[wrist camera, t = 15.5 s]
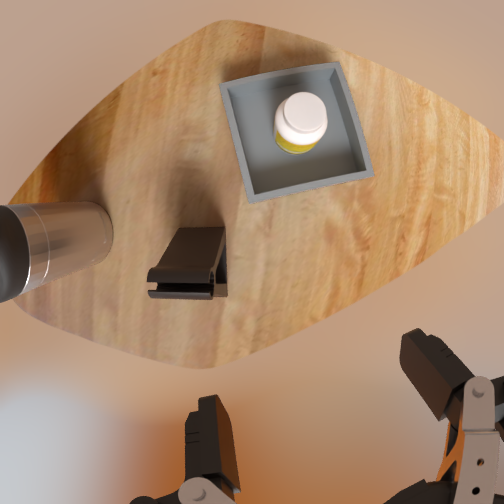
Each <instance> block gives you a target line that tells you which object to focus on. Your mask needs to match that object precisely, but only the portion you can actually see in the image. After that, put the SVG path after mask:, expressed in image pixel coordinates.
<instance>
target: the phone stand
mask: <svg viewBox="0 0 504 504" xmlns="http://www.w3.org/2000/svg"><path fill="white" fill-rule="evenodd" d="M147 282H157V284H158V286H157V289H156V290H148V294H149V296H150V297H151V298H160V299H193V300H212V299H213V297H227V296H228V293H227V264H226V228H225V227H207V228H179V229H178V230H177V232H176V234H175V235H174V237H173V239H172V241H171V242H170V244H169V246H168V247H167V249H166V251H165V252H164V254H163V256H162V258H161V259H160V261H159V263H158V264H157V266H156V267H153V268H151V269H150V270H149V272H148V276H147Z"/></svg>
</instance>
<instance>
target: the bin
mask: <svg viewBox="0 0 504 504" xmlns="http://www.w3.org/2000/svg"><path fill="white" fill-rule="evenodd" d="M219 87H220V91H221V95H222V99H223V103H224V107H225V110H226V114H227V118H228V122H229V126H230V130H231V134H232V138H233V142H234V146H235V150H236V154H237V158H238V162H239V166H240V170H241V173H242V177H243V181H244V185H245V189H246V193H247V197H248V201H249V204H253V203H257V202H261V201H265V200H269V199H274V198H278V197H282V196H286V195H291V194H295V193H299V192H304V191H308V190H313V189H317V188H322V187H327V186H331V185H336V184H341V183H346V182H350V181H355V180H360V179H365V178H369V177H373V176H374V172H373V167H372V163H371V160H370V156H369V152H368V148H367V144H366V141H365V137H364V134H363V130H362V127H361V124H360V120H359V117H358V114H357V111H356V108H355V105H354V102H353V99H352V96H351V93H350V90H349V87H348V84H347V81H346V78H345V76H344V73H343V70H342V68H341V65H340V62H331V63H322V64H315V65H308V66H301V67H295V68H289V69H283V70H278V71H272V72H267V73H262V74H258V75H253V76H249V77H244V78H240V79H236V80H232V81H228V82H224V83H221V84H219ZM299 92H308V93H312V94H314V95H316V96H317V97H319V98H320V99H321V100H322V102H323V103H324V105H325V107H326V115H327V120H328V123H327V129H326V131H325V133H324V135H323V136H322V138H321V139H320V140H319V141H318V142H317V144H316V145H315V146H314V147H313V148H312V149H311V150H310V151H308V152H307V153H305V154H301V155H291V154H288V153H285V152H284V151H282V150H281V149H280V148H279V147H278V146H277V144H276V143H275V141H274V137H273V128H274V120H275V114H276V110H277V108H278V107H279V105H280V104H281V103H282V102H283V101H284V100H286V99H287V98H289V97H290V96H292V95H293V94H295V93H299Z"/></svg>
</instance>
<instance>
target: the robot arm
mask: <svg viewBox="0 0 504 504" xmlns="http://www.w3.org/2000/svg"><path fill="white" fill-rule="evenodd" d="M112 241H113V229H112V224H111V221H110V218H109V216H108V215H107V213H106V212H105V210H104V209H103V208H102V207H101V206H99V205H98V204H96V203H93V202H88V201H84V202H51V203H30V204H15V205H1V206H0V303H1V302H4V301H7V300H10V299H12V298H14V297H16V296H19V295H21V294H23V293H26V292H28V291H30V290H33V289H35V288H37V287H40V286H42V285H44V284H47V283H49V282H52V281H54V280H57V279H59V278H62V277H64V276H67V275H69V274H72V273H74V272H77V271H79V270H82V269H85V268H87V267H90V266H92V265H95V264H97V263H99V262H101V261H102V260H103V259H104V258H105V257H106V256H107V254H108V253H109V251H110V249H111V246H112ZM400 365H401V368H402V370H403V371H404V373H405V374H406V375H407V377H408V378H409V380H410V381H411V382H412V384H413V385H414V387H415V388H416V389H417V391H418V392H419V394H420V395H421V396H422V398H423V399H424V401H425V402H426V404H427V405H428V407H429V408H430V409H431V411H432V412H433V414H434V415H435V417H436V418H437V420H438V421H440V420H442V419H444V418H446V417H447V418H448V420H449V423H448V429H447V437H446V443H445V450H444V456H443V460H442V463H441V466H440V468H439V471H438V474H437V478H436V481H433V482H428V483H426V481H425V480H424V479H423V480H421V481H419V482H417V483H415V484H414V485H412V486H410V487H408V488H406V489H404V490H402V491H400V492H399V493H397V494H396V495H395V496H393V497H392V498H391V499H390V500H388V501H387V502H385V503H384V504H504V496H503V495H498V494H494V492H495V486H496V478H497V469H498V459H499V445H500V437H501V439H502V440H503V442H504V376H502V377H499V378H496V379H493V380H489V379H487V378H485V377H481V376H477V377H476V376H474V375H473V374H472V372H471V371H470V370H469V369H468V368H467V367H466V366H465V365H464V364H463V362H462V361H461V360H460V359H459V358H458V357H457V356H456V355H455V354H454V353H453V351H452V350H451V349H450V348H448V346H447V345H446V344H445V343H444V342H443V341H442V340H441V339H440V338H438V337H436V336H433V335H429V336H426V334H425V333H424V332H423V331H422V330H421V329H419V328H416V329H414V330H412V331H410V332H408V333H406V334H403V336H402V340H401V350H400ZM198 405H199V406H198V408H199V411H196V412H190V413H189V416H188V418H187V420H186V422H185V435H186V436H185V444H186V445H185V481H184V483H183V484H182V485H181V487H180V488H179V489H178V490H177V491H175V492H174V493H171V494H169V495H166V496H163V497H160V498H158V499H153V498H151V497H147V496H140V497H137V498H135V499H134V500H132V501H131V502H130V504H237V503H235V500H234V493H239V492H241V489H240V482H239V476H238V470H237V462H236V455H235V447H234V440H233V432H232V426H231V421H230V418H229V415H228V413H227V411H226V410H225V408H224V406H223V404H222V402H221V400H220V398H219V397H218V395H211V396H206V397H201V398H199V400H198ZM495 429H496V430H495Z"/></svg>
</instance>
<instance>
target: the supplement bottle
mask: <svg viewBox="0 0 504 504" xmlns="http://www.w3.org/2000/svg"><path fill="white" fill-rule="evenodd" d="M327 123H328V120H327V115H326V107H325V105H324V103H323V102H322V100H321V99H320V98H319V97H317V96H316V95H314V94H312V93H308V92H299V93H295V94H293V95H292V96H290V97H289V98H287V99H286V100H284V101H283V102H282V103H281V104H280V105H279V107H278V108H277V110H276V114H275V120H274V128H273V137H274V141H275V143H276V144H277V146H278V147H279V148H280V149H281V150H282V151H284V152H285V153H288V154H291V155H301V154H305V153H307V152H308V151H310V150H311V149H312V148H313V147H314V146H315V145H316V144H317V142H318V141H319V140H320V139H321V138H322V136H323V135H324V133H325V131H326V129H327Z"/></svg>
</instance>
